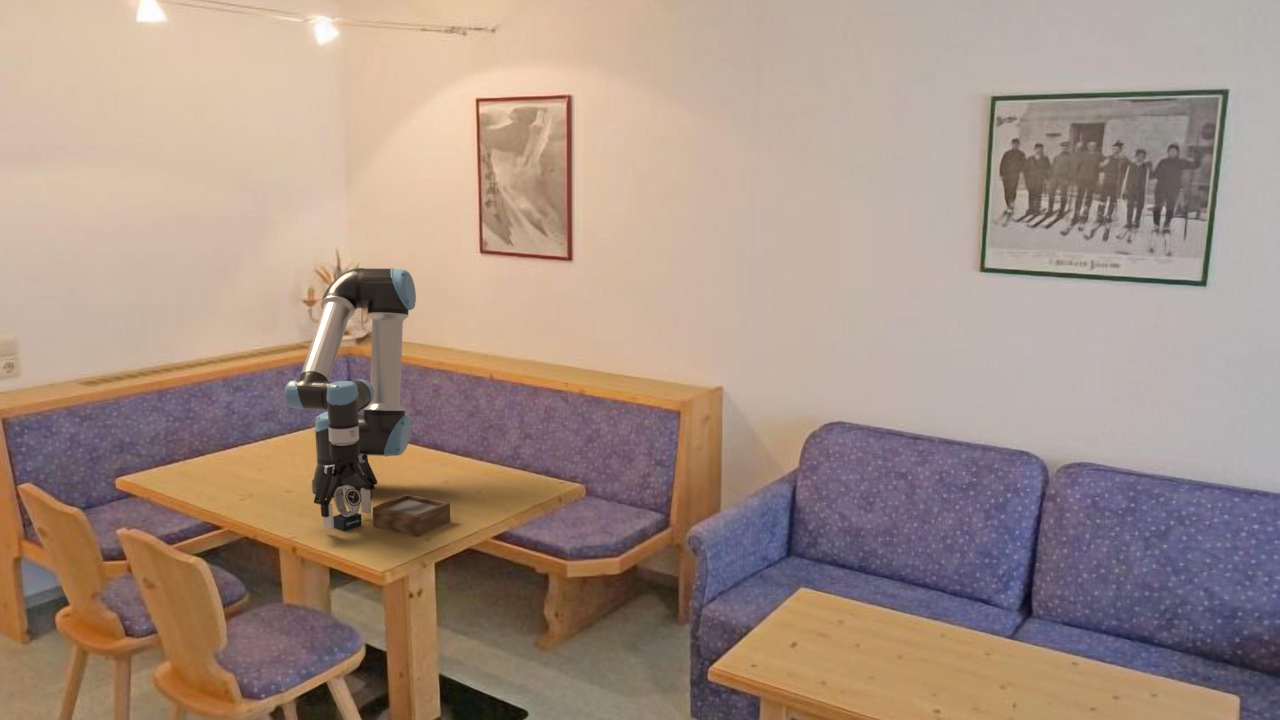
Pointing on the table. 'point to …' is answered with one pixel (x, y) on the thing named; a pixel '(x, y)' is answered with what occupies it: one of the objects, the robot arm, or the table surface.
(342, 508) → the watch
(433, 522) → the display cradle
